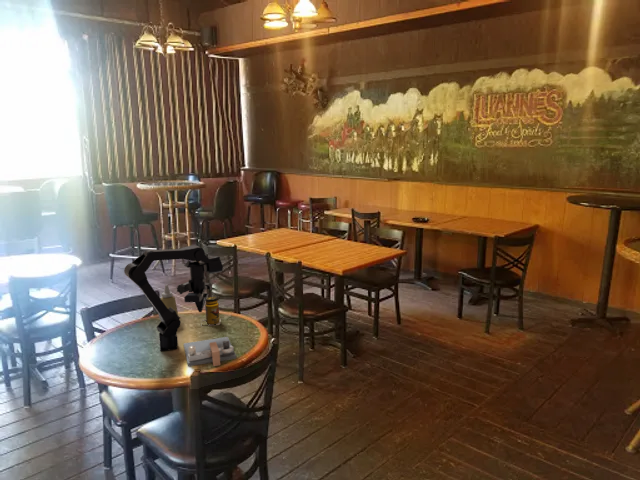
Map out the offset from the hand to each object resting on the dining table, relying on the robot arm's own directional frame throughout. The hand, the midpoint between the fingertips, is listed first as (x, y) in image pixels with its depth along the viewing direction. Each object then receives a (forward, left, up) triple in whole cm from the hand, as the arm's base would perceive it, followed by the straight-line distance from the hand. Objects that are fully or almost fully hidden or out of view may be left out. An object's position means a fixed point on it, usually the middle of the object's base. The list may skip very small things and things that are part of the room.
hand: (200, 311), depth 209 cm
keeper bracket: (+2, -23, -12) cm, 26 cm away
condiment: (+6, +18, -12) cm, 23 cm away
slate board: (+1, -15, -12) cm, 19 cm away
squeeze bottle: (-12, +26, -12) cm, 31 cm away
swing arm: (+1, -23, -10) cm, 25 cm away
